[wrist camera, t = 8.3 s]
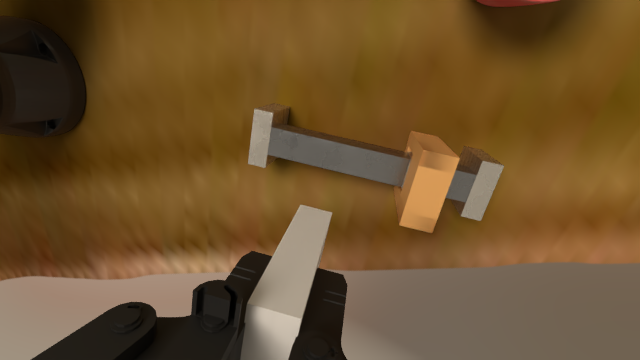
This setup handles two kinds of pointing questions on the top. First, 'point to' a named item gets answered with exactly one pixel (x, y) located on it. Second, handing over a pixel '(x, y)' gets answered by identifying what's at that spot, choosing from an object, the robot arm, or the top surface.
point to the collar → (425, 182)
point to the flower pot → (512, 2)
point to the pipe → (367, 159)
